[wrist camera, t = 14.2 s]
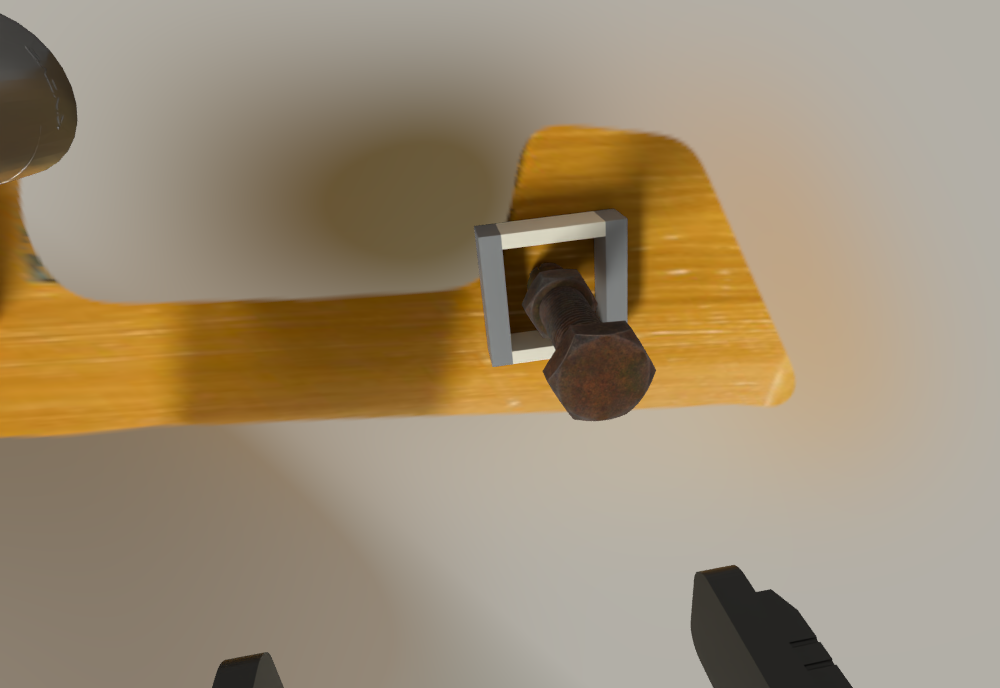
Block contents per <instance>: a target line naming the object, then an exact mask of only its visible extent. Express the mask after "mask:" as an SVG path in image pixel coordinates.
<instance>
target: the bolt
mask: <svg viewBox="0 0 1000 688" xmlns="http://www.w3.org/2000/svg"><path fill="white" fill-rule="evenodd" d="M527 289H528V291H527V293H526V295H525V298H524V300H523V302H522V306H523V308H524V310H525V312H526V314H527V315H528V317H529V318H530V320H531V321H532V323H533V324H534V326H535V327H536V329H537V330H538V332H539V333H540V334H541V336H542V337H543V338H548V339H550V340H551V342H552V344H553V346H554V348H555V352H554V353H553V355H552V357H551V358H550V360H549V362H548V363H547V365H546V367H545V368H544V370H543V373H544V375H545V378H546V380H547V382H548V383H549V385H550V387H551V388H552V390H553V392H554V393H555V395H556V396H557V398H558V399H559V401H560V402H561V403H562V405H563V406H564V407H565V409H566V410H567V412H568V413H569V414H570V415H571V416H572V418H573V419H575V420H583V421H601V420H609V419H613V418H617V417H620V416H622V415H625V414H627V413H628V412H629V411H631V410H632V409H633V408H634V407H635V406H636V405H637V404H638V403H639V402H640V400H641V399H642V398H643V396H644V395H645V393H646V392H647V390H648V388H649V386H650V384H651V382H652V379H653V377H654V374H655V372H656V369H655V367H654V365H653V363H652V361H651V360H650V358H649V356H648V354H647V353H646V351H645V349H644V348H643V346H642V344H641V343H640V341H639V339H638V338H637V336H636V335H635V333H634V332H633V330H632V329H631V327H630V326H629V325H628V323H627V322H626V321H625V320H624V321H613V322H602V321H601V320H600V319H599V317H598V316H597V314H596V313H595V310H596V308H597V305H598V303H597V301H596V299H595V297H594V296H593V294H592V292H591V291H590V289H589V287H588V286H587V284H586V283H585V281H584V279H583V278H582V276H581V275H580V273H579V272H578V271H577V270H576V269H563V268H562V267H561V266H559V265H557V264H555V263H543V264H541V266H540V267H539V270H538V268H537V267H536V268H534V269H533V270H532V271H531V273H530V277H529V280H528V284H527Z"/></svg>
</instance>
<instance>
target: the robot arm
mask: <svg viewBox="0 0 1000 688" xmlns="http://www.w3.org/2000/svg"><path fill="white" fill-rule="evenodd" d="M76 126H77V108H76V101H75V98H74V94H73V91H72V87H71V84H70V83H69V80H68V78H67V77H66V74H65V72H64V70H63V68H62V67H61V65H60V64H59V62H58V61H57V60H56V58H55V57H54V55H53V54H52V53H51V52H50V50H49V49H48V48H46V46H45V45H44V44H43V43H42V42H41V41H40V40H39V39H38V38H37V37H36V36H35V35H34V34H32V33H31V32H30V31H28V30H27V29H26V28H24V27H23V26H22V25H20V24H19V23H17V22H16V21H14V20H11V19H10V18H8V17H6V16H4V15H2V14H0V184H3V183H7V182H10V181H13V180H16V179H20V178H23V177H26V176H29V175H32V174H35V173H38V172H41V171H44V170H47V169H48V168H50V167H51V166H53V165H54V164H56V163H57V162H59V160H60V159H61V158H62V157H63V156H64V155H65V154H66V153H67V151H68V150H69V148H70V146H71V143H72V141H73V139H74V137H75V132H76ZM691 633H692V638H693V642H694V646H695V649H696V652H697V654H698V657H699V659H700V661H701V663H702V665H703V667H704V669H705V672H706V673H707V676H708V678H709V680H710V682H711V684H712V686H713V687H714V688H853V687H852V686H851V685H850V683H849V682H848V680H847V679H846V678H845V676H844V675H843V673H842V672H841V671H840V669H839V668H838V666H837V665H834V663H833V661H832V658H831V657H830V655H829V654H828V652H827V651H826V649H825V648H824V647H823V645H822V644H821V642H818V641H817V637H816V635H815V634H814V633H813V631H812V630H811V628H810V627H809V626H808V624H807V623H806V621H805V620H804V618H803V617H802V616H801V614H800V613H799V611H798V610H797V609H795V608H794V607H793V606H792V605H790V604H789V603H788V602H787V601H785V600H784V599H783V598H781V597H780V596H779V595H778V594H776V593H775V592H774V591H773V590H771V589H770V590H765V591H760V592H755V590H754V589H753V587H752V585H751V584H750V582H749V581H748V579H747V578H746V576H745V575H744V573H743V572H742V571H741V570H740V569H739V568H738V567H737V566H735V565H731V566H726V567H720V568H715V569H710V570H705V571H700V572H696V574H695V577H694V588H693V600H692V613H691ZM212 688H284V687H283V684H282V682H281V680H280V677H279V675H278V672H277V670H276V667H275V665H274V662H273V660H272V657H271V655H270V654H269V653H268V652H265V653H259V654H254V655H249V656H244V657H238V658H233V659H228V660H224V661H223V662H222V663H221V664H220V666H219V668H218V670H217V673H216V676H215V680H214V683H213V686H212Z"/></svg>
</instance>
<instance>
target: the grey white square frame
mask: <svg viewBox="0 0 1000 688" xmlns="http://www.w3.org/2000/svg"><path fill="white" fill-rule="evenodd" d="M474 230H475V238H476V247H477V256H478V264H479V273H480V282H481V291H482V300H483V309H484V317H485V326H486V335H487V344H488V350H489V354H490V358H491V362H492V366H493V367H496V366H503V365H510V364H517V363H524V362H531V361H538V360H545V359H550V358H551V357H552V355H553V353H554V352H555V348H554V346H553V344H552V342H551V340H550V339H548V338H543V337H542V336H541V334H540V333H539V332H538V330H534V331H527V332H520V333H513V334H510V325H509V314H508V304H507V293H506V283H505V272H504V262H503V251H502V250H503V249H511V248H519V247H526V246H534V245H542V244H549V243H557V242H565V241H573V240H580V239H588V238H594V262H595V299H596V301H597V303H598V305H597V308H596V314H597V316H598V317H599V319H600V320H601V321H602V322H613V321H624V320H625V321H626V322H627V218H626V217H625V216H623V215H622V214H621V213H619V212H618V211H617V210H615V209H607V210H599V211H591V212H583V213H575V214H567V215H559V216H551V217H543V218H535V219H527V220H519V221H511V222H503V223H495V224H488V225H479V226H474Z"/></svg>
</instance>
